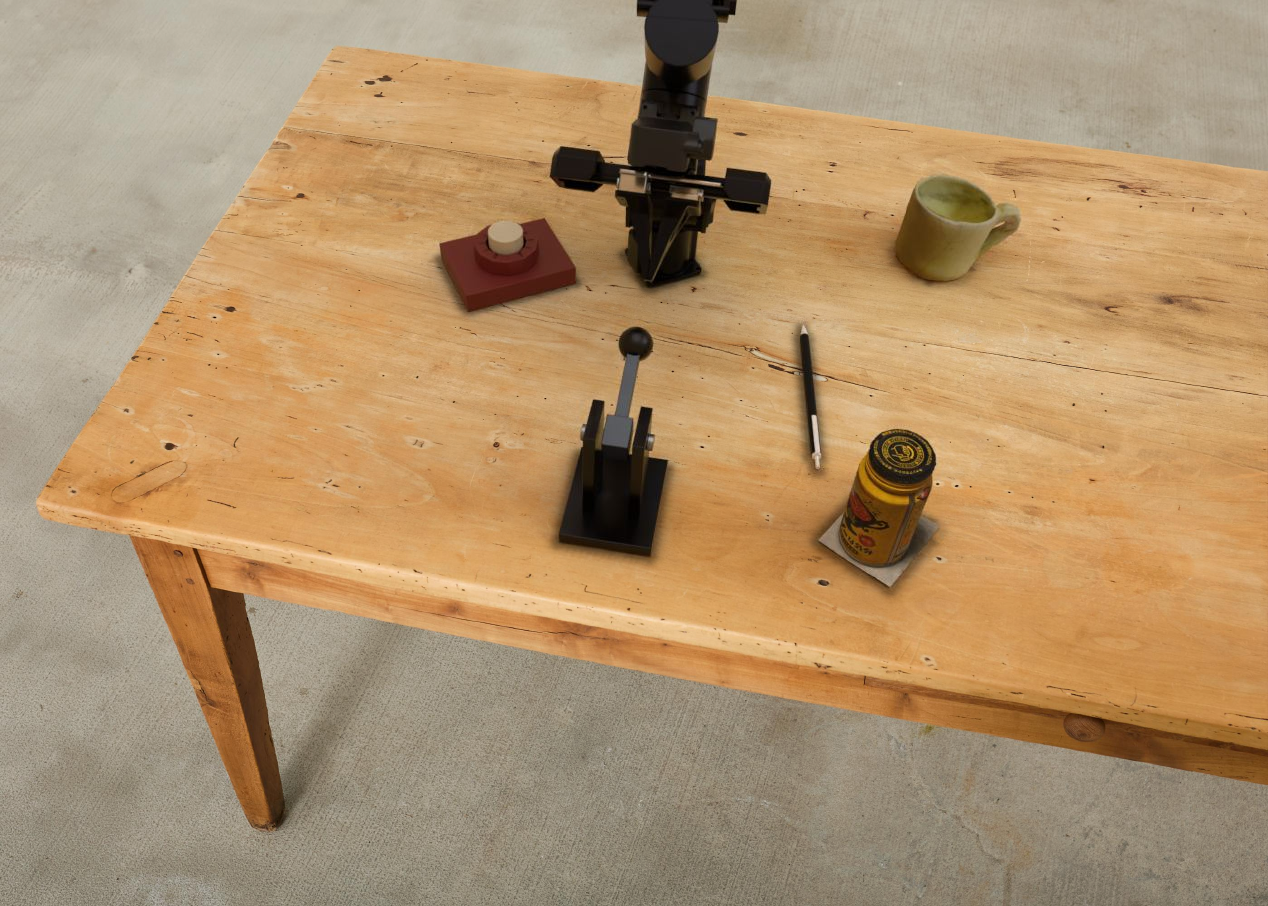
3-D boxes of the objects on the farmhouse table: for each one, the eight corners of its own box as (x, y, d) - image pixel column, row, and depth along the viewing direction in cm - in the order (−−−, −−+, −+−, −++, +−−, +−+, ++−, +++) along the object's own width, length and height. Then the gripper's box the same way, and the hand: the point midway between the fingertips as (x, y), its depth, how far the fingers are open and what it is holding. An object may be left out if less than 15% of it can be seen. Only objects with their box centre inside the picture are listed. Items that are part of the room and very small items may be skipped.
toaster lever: (621, 336, 92) (621, 317, 90) (655, 341, 92) (656, 322, 89) (597, 457, 87) (595, 441, 85) (632, 463, 87) (632, 447, 84)
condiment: (817, 541, 92) (843, 452, 82) (869, 484, 96) (899, 394, 87) (889, 589, 89) (925, 502, 80) (939, 528, 93) (978, 439, 84)
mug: (884, 273, 112) (925, 186, 107) (879, 240, 121) (916, 158, 115) (992, 310, 113) (1038, 225, 107) (979, 275, 121) (1021, 194, 116)
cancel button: (516, 230, 112) (515, 216, 110) (528, 250, 110) (527, 237, 108) (484, 238, 111) (482, 224, 109) (495, 258, 109) (494, 245, 107)
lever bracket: (581, 454, 97) (581, 372, 89) (667, 467, 96) (675, 385, 88) (558, 542, 90) (556, 462, 82) (650, 557, 90) (658, 477, 82)
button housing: (545, 233, 117) (544, 204, 114) (575, 283, 112) (575, 253, 109) (441, 259, 114) (437, 229, 111) (467, 312, 109) (464, 282, 105)
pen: (812, 470, 97) (814, 462, 96) (798, 327, 109) (800, 319, 108) (821, 471, 97) (824, 463, 96) (806, 328, 109) (808, 320, 108)
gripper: (552, 58, 84) (525, 256, 85) (787, 87, 82) (756, 288, 84) (572, 95, 95) (548, 269, 96) (779, 121, 93) (752, 297, 95)
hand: (647, 280), depth 92 cm, fingers closed
